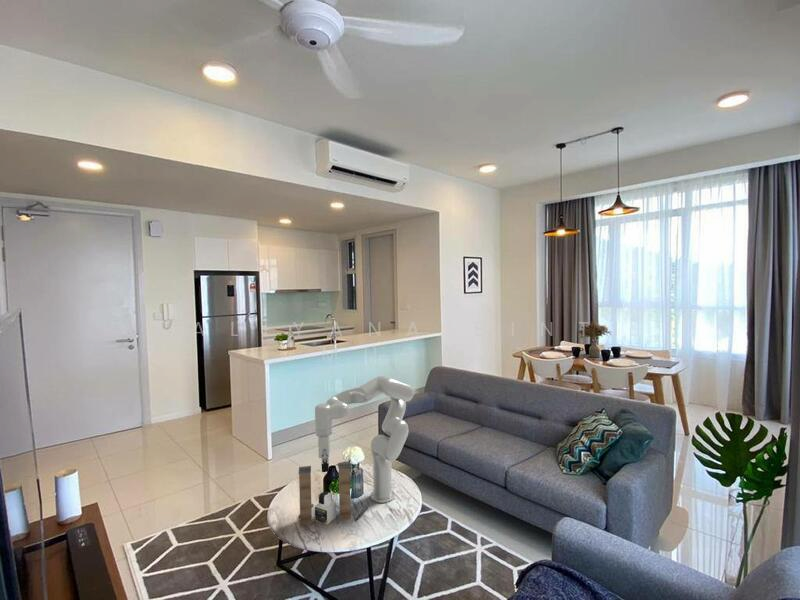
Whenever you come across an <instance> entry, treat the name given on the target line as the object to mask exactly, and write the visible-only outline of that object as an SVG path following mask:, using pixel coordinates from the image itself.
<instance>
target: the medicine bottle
mask: <svg viewBox="0 0 800 600" xmlns="http://www.w3.org/2000/svg"><path fill="white" fill-rule="evenodd" d="M336 517H337V502H336V501H334V500H333V493H331V492H330V491H323V492H320V493H319V494H318V503H317V504H316V505H314V519H315V520H314V521H315V522H318V523H321V524H324V525H327V526H328V524H330V523H331V522H332V521H333V520H335V519H336Z"/></svg>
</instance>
